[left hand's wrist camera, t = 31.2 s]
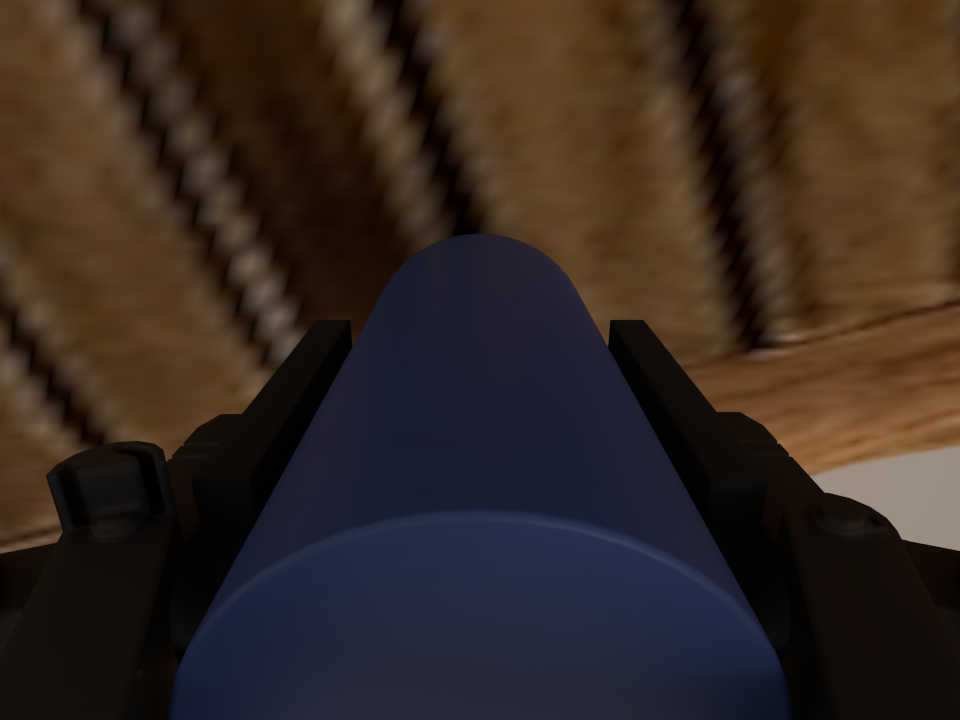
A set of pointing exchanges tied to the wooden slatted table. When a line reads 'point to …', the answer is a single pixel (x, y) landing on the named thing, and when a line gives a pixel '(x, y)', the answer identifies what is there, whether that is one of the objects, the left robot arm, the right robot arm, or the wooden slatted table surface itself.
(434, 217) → the wooden slatted table surface
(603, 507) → the canister
